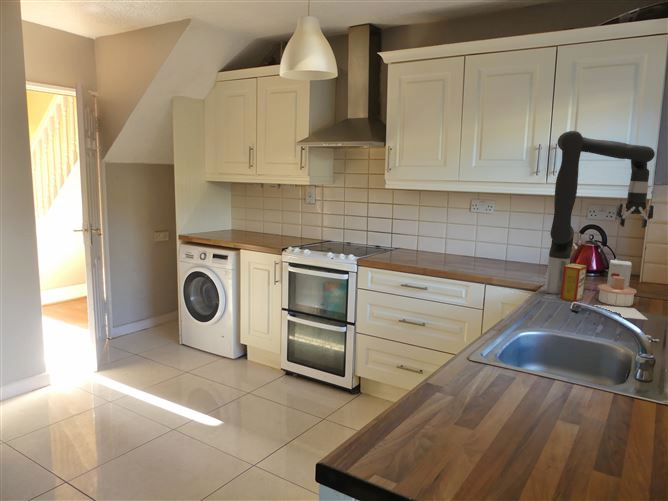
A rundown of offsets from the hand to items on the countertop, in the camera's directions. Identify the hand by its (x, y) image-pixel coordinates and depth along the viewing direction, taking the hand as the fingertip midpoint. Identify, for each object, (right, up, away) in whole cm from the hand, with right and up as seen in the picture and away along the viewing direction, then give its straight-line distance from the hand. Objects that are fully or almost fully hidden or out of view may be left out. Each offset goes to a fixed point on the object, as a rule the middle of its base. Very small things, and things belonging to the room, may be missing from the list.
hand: (632, 227), depth 228 cm
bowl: (-11, -34, -5) cm, 36 cm away
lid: (-11, -28, -6) cm, 31 cm away
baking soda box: (-28, -33, -1) cm, 44 cm away
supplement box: (+1, -31, +15) cm, 35 cm away
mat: (-18, -37, -21) cm, 46 cm away
